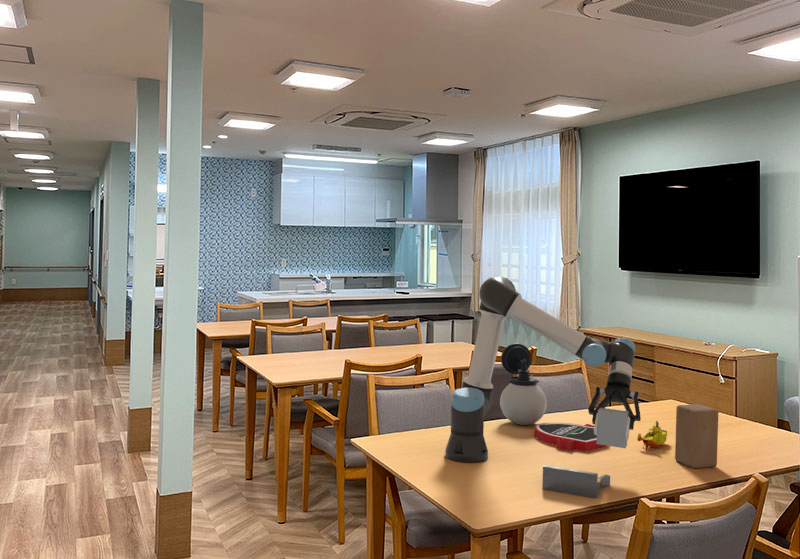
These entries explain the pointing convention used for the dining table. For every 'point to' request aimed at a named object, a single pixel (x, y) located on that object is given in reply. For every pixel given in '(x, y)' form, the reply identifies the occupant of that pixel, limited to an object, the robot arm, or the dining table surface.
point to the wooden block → (696, 435)
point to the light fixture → (521, 388)
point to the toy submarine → (654, 437)
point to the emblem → (568, 436)
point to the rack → (573, 481)
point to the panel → (612, 427)
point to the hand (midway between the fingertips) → (610, 434)
